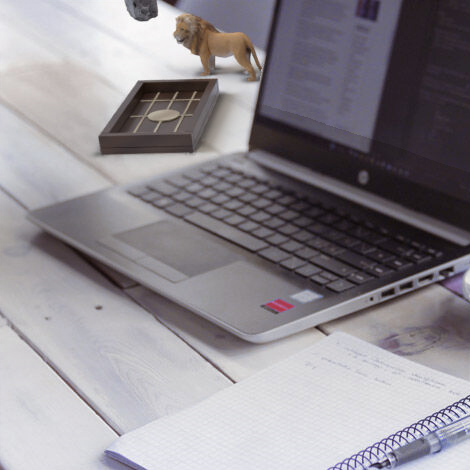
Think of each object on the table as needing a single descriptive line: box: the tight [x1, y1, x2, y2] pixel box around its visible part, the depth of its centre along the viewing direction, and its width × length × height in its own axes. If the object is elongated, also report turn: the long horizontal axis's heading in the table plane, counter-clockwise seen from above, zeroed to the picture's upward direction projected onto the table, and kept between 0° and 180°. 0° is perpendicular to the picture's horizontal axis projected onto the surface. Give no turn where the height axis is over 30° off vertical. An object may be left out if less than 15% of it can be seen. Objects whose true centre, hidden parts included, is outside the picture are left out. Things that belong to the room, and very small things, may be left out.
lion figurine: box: [172, 13, 263, 82], centre depth 137 cm, size 15×5×9 cm, turn 72°
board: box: [97, 77, 221, 156], centre depth 121 cm, size 11×21×3 cm, turn 179°
